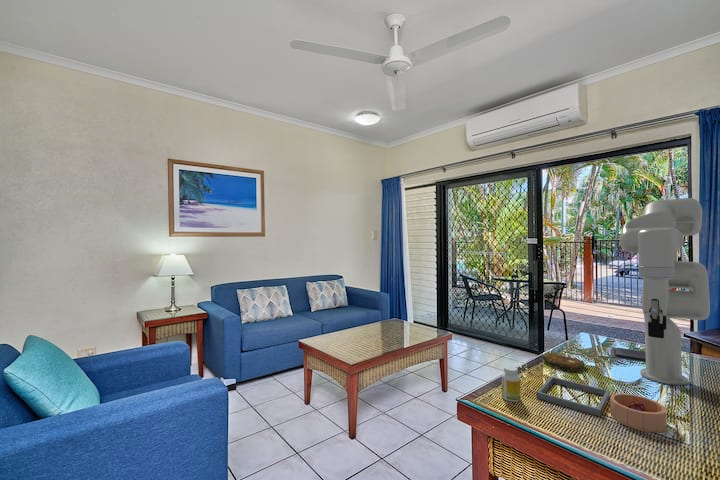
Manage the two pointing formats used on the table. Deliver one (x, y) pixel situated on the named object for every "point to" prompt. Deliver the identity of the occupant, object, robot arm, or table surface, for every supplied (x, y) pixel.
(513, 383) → the supplement bottle
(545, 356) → the decorative rock
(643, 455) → the table surface
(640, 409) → the dice
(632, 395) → the bowl
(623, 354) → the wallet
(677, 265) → the robot arm
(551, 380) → the grey flat square frame
